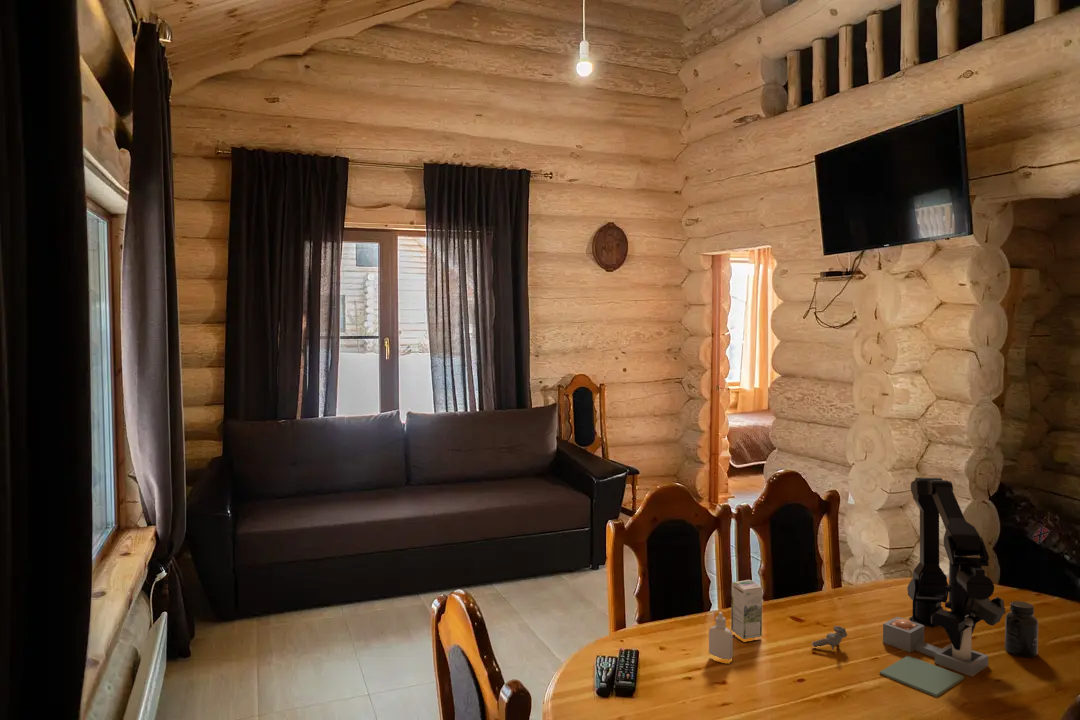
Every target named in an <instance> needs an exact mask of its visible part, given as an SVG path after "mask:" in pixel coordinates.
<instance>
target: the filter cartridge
mask: <svg viewBox="0 0 1080 720" xmlns="http://www.w3.org/2000/svg"><path fill="white" fill-rule="evenodd" d="M965 625H968V626H970V627H969V628H967V629H965V630H964V631H963V637H962V643H961V648H960V650H956V649H955V648H954V646H953V644H952V657H953V658H956V659H959V660H961V661H964V662H967V663H971V650H972V641H973V640H972V637H973V633H972V626H973V620H972V619H970V618H968V617H966V620H965Z"/></svg>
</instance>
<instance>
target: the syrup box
mask: <svg viewBox="0 0 1080 720" xmlns="http://www.w3.org/2000/svg"><path fill="white" fill-rule="evenodd" d="M730 611H731V614H730V615H731V618H730V619H731V621H730V627H731V630H732V631H733V632H735V633H736V634H737V635H739V636H740V637H741V638H743V639H748V638H755V637H760V636H762V637H763V634H762V633H763V629H762V628H763V626H762V625H763V587H762V586H761V585H760V584H758V582H755V581H753V580H751V579H745V580H740V581H734V582H733V581H732V582H731V609H730ZM731 630H730V631H731Z"/></svg>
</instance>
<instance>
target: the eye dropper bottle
mask: <svg viewBox="0 0 1080 720" xmlns="http://www.w3.org/2000/svg"><path fill="white" fill-rule="evenodd" d="M726 619H727V618H726V617H725V616H723V612H720V611H719V612H718V616H716V617H715V625H713V626H711V627H709V629H708V654H709V653H710V654H712V655H714V656H717V657H719V658H722V659H728V660H729V659H731V658H732V657H733V658H734V655H733V654H734V653H733V648H734V647H733V646H734V645H733V644H734V643H733V641H734V639H733V637H734V636H733V635H732V632H731V630H730V628H728V627H727V624H726V622H727V621H726Z"/></svg>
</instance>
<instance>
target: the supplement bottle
mask: <svg viewBox="0 0 1080 720" xmlns="http://www.w3.org/2000/svg"><path fill="white" fill-rule="evenodd" d="M1005 614H1006V615H1005V619H1004V621H1005V622H1004V623H1005V624H1004V625H1005V628H1004V629H1005V630H1004V632H1005V633H1004V648H1005V650H1006V651H1007V652H1008V653H1010V654H1011V655H1014V656H1017V657H1022V658H1034V657H1036V656H1037V655H1038V652H1039V650H1038V648H1039V647H1038V646H1039V645H1038V644H1039V620H1038V618H1037V617H1035V615H1034V614H1035V608H1034V605H1033V604H1031V603H1029V602H1025V601H1020V600H1016V601H1015V600H1012V601H1011V602H1010V607H1009V612H1006V613H1005Z"/></svg>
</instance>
